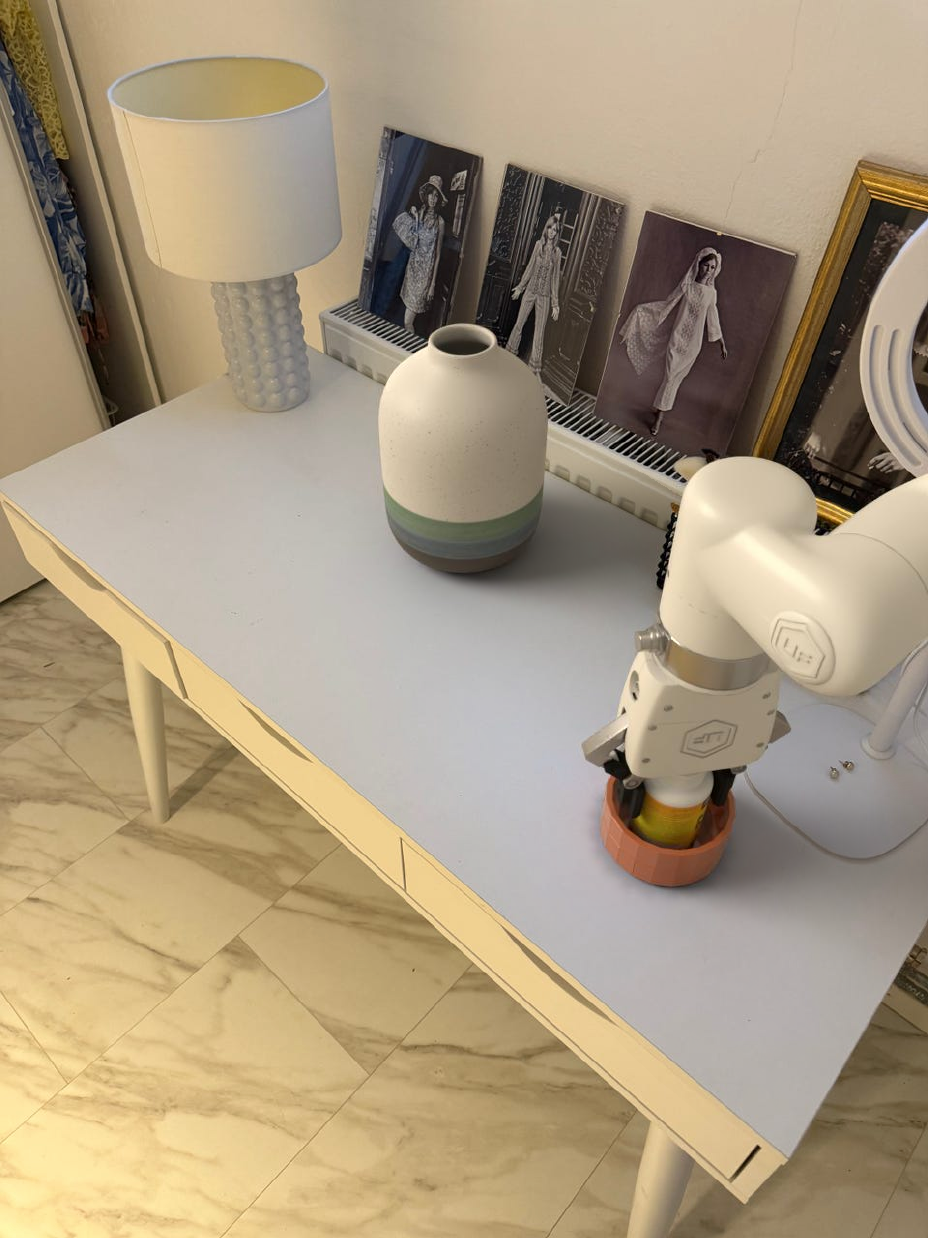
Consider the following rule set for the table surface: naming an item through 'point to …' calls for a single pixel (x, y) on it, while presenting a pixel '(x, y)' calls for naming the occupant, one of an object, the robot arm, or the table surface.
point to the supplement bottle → (673, 810)
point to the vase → (463, 451)
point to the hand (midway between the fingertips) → (671, 796)
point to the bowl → (663, 862)
